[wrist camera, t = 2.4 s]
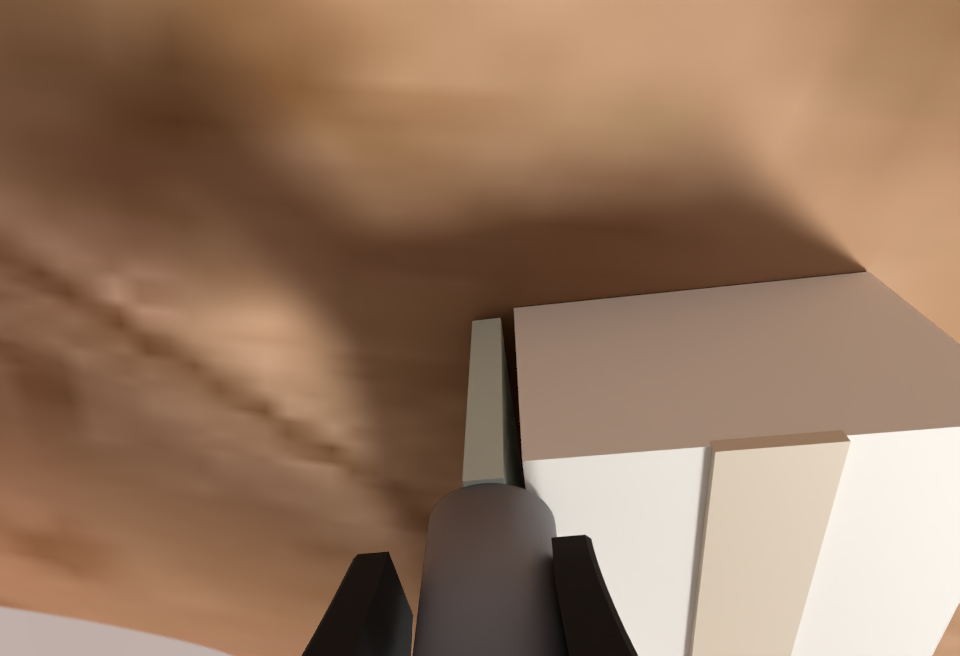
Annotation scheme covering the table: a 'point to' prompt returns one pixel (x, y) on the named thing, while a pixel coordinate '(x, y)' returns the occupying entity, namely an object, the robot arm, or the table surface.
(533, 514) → the flap
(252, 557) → the table surface
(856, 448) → the carton
